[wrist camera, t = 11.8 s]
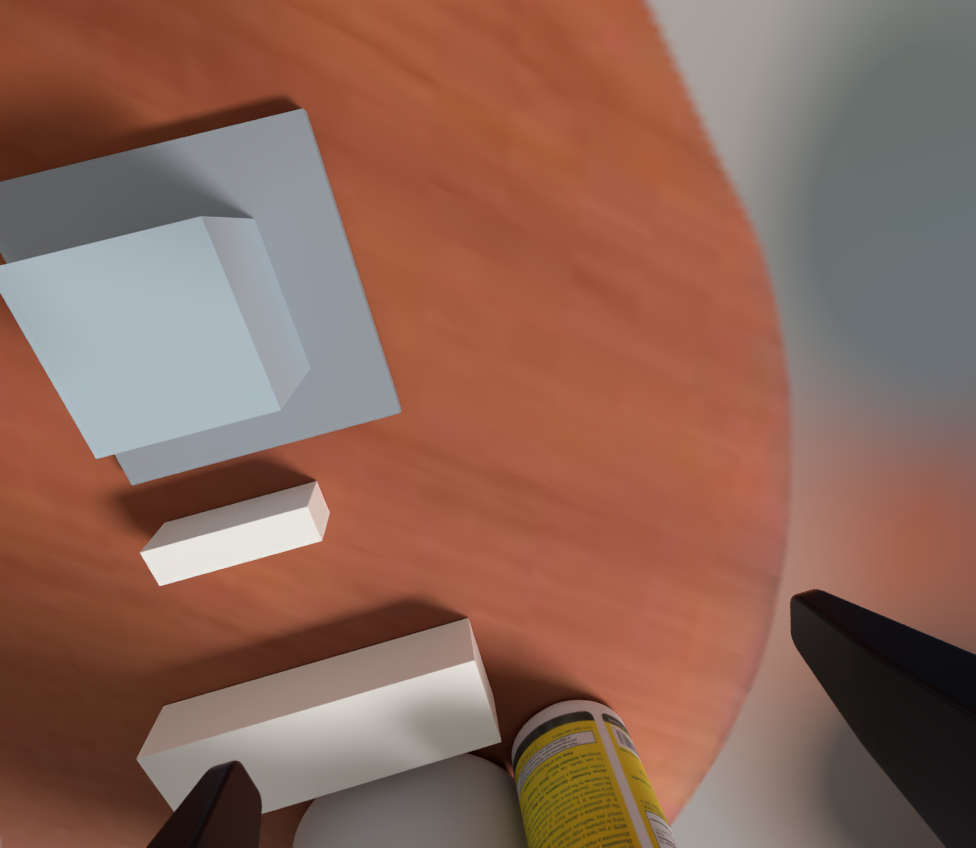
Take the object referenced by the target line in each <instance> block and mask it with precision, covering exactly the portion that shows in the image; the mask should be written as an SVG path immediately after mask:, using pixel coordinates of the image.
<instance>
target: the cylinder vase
mask: <svg viewBox="0 0 976 848" xmlns="http://www.w3.org/2000/svg"><path fill="white" fill-rule="evenodd" d="M292 848H528V843H527V838H526V833H525V828H524V824H523V818H522V813H521V808H520V803H519V798H518V793H517V788H516V782H515V779H514V778H513V777H512V776H511V775H510V774H509V773H507V772H506V771H505V770H503V769H502V768H501V767H499V766H497V765H496V764H494V763H492V762H490V761H488V760H485V759H483V758H481V757H478V756H475V755H471V754H467V753H463V754H460V755H457V756H453V757H450V758H447V759H443V760H440V761H437V762H433V763H430V764H427V765H423V766H420V767H417V768H413V769H410V770H407V771H403V772H400V773H397V774H393V775H390V776H387V777H383V778H380V779H377V780H373V781H370V782H367V783H363V784H360V785H357V786H353V787H350V788H347V789H343V790H340V791H337V792H333V793H330V794H327V795H323V796H320V797H317V798H316V799H315V800H314V801H313V803H312V804H311V805H310V806H309V808H308V809H307V811H306V812H305V814H304V816H303V817H302V819H301V821H300V824H299V826H298V828H297V831H296V834H295V837H294V841H293V846H292Z"/></svg>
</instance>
